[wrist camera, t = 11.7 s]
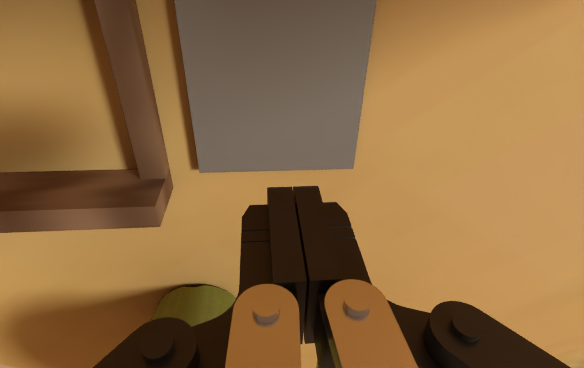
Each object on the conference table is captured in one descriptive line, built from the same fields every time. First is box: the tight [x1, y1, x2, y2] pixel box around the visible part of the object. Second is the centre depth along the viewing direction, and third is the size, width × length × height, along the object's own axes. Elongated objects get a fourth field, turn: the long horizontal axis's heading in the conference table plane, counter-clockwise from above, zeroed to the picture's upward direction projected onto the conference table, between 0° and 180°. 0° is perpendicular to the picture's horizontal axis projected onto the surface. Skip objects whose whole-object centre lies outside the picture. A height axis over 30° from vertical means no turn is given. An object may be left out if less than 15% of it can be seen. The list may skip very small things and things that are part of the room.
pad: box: [174, 0, 376, 173], centre depth 20 cm, size 10×11×1 cm
